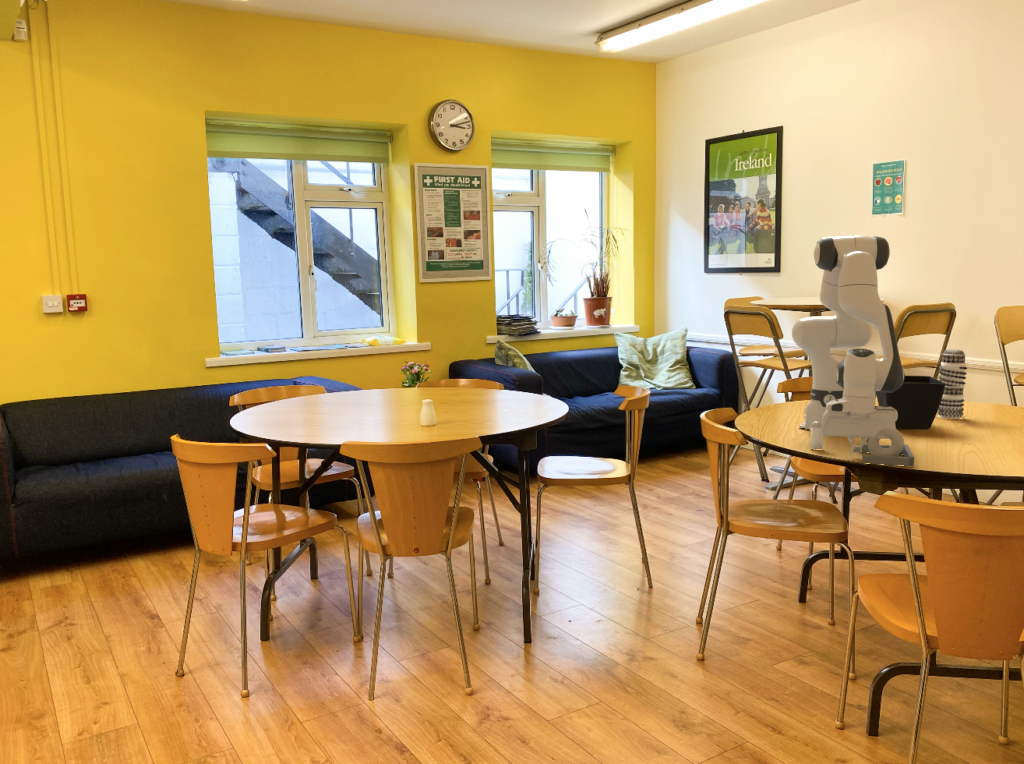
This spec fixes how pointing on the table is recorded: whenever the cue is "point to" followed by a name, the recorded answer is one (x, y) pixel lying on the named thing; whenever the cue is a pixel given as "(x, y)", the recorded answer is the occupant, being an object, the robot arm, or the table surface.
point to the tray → (889, 457)
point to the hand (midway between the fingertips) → (856, 452)
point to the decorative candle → (952, 384)
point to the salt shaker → (816, 436)
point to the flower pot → (914, 401)
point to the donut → (893, 450)
